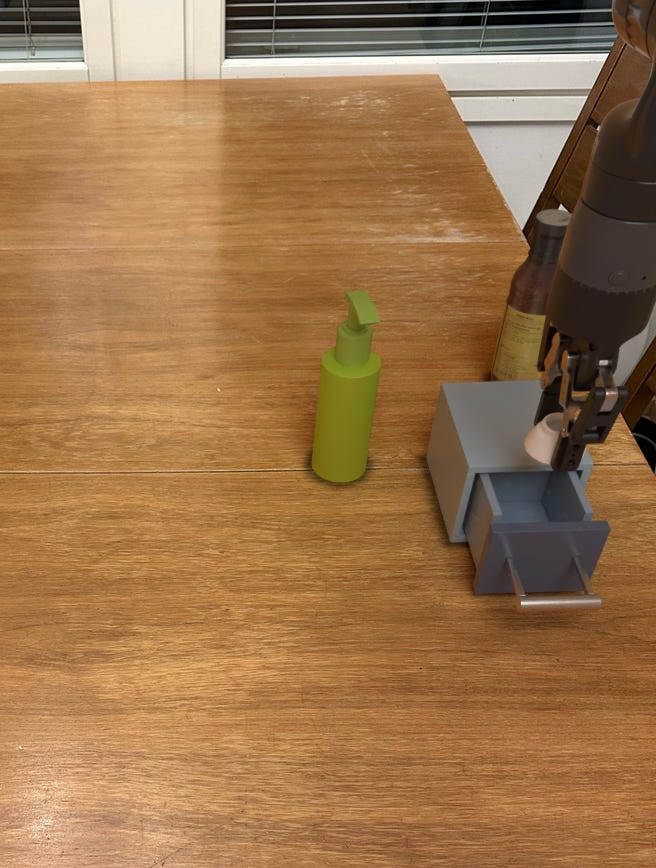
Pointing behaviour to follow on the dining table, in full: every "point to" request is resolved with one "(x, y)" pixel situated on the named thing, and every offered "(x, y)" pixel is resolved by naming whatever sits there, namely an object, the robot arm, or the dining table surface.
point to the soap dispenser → (347, 395)
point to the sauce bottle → (529, 301)
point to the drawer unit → (482, 441)
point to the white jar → (544, 438)
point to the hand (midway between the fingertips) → (554, 447)
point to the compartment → (534, 538)
